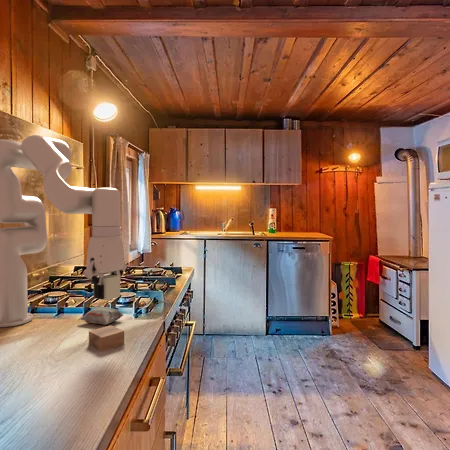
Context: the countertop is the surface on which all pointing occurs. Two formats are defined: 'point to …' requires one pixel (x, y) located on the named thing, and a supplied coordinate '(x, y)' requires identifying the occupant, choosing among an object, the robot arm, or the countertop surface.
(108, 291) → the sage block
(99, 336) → the walnut base
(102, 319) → the packaged food
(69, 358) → the countertop surface
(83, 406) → the countertop surface
